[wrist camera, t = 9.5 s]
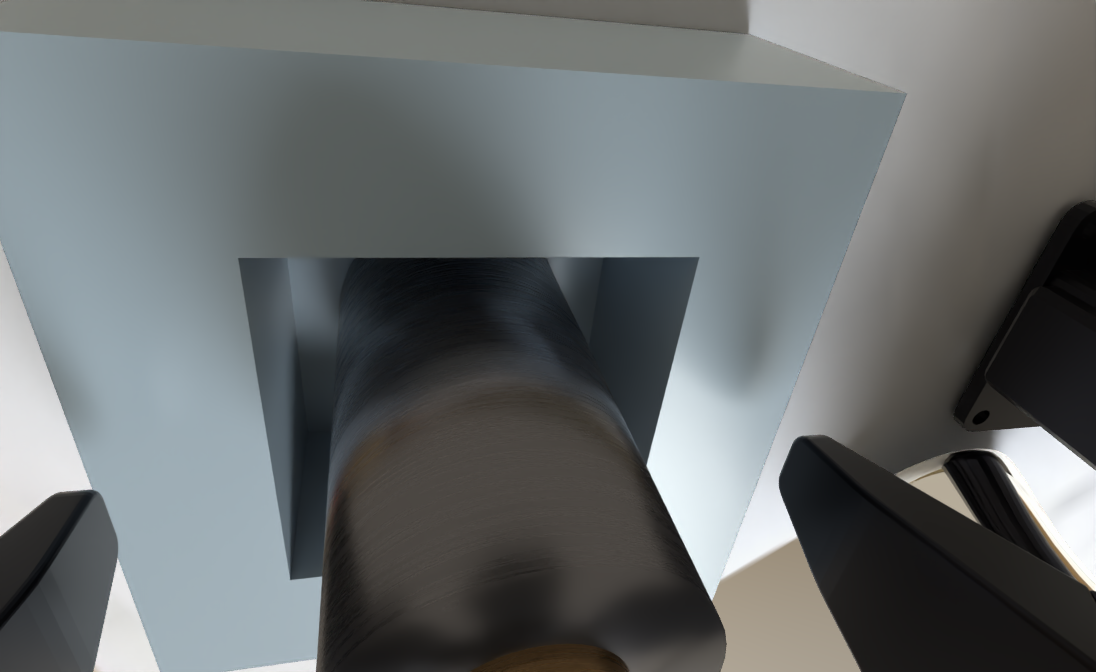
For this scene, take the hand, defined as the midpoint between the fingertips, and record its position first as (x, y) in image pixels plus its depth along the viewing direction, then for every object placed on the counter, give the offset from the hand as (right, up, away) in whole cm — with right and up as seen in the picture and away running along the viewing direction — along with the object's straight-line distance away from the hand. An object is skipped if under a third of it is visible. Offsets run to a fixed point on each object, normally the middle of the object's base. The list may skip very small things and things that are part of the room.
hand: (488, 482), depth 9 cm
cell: (-1, +2, +4) cm, 5 cm away
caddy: (-1, +3, +4) cm, 5 cm away
